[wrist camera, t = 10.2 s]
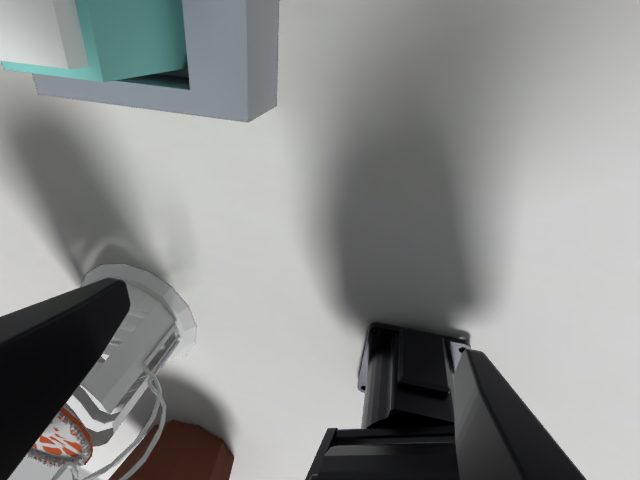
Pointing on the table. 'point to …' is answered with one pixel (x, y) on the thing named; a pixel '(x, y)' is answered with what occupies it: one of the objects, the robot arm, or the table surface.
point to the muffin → (179, 455)
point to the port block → (200, 67)
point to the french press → (122, 372)
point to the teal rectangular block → (92, 38)
